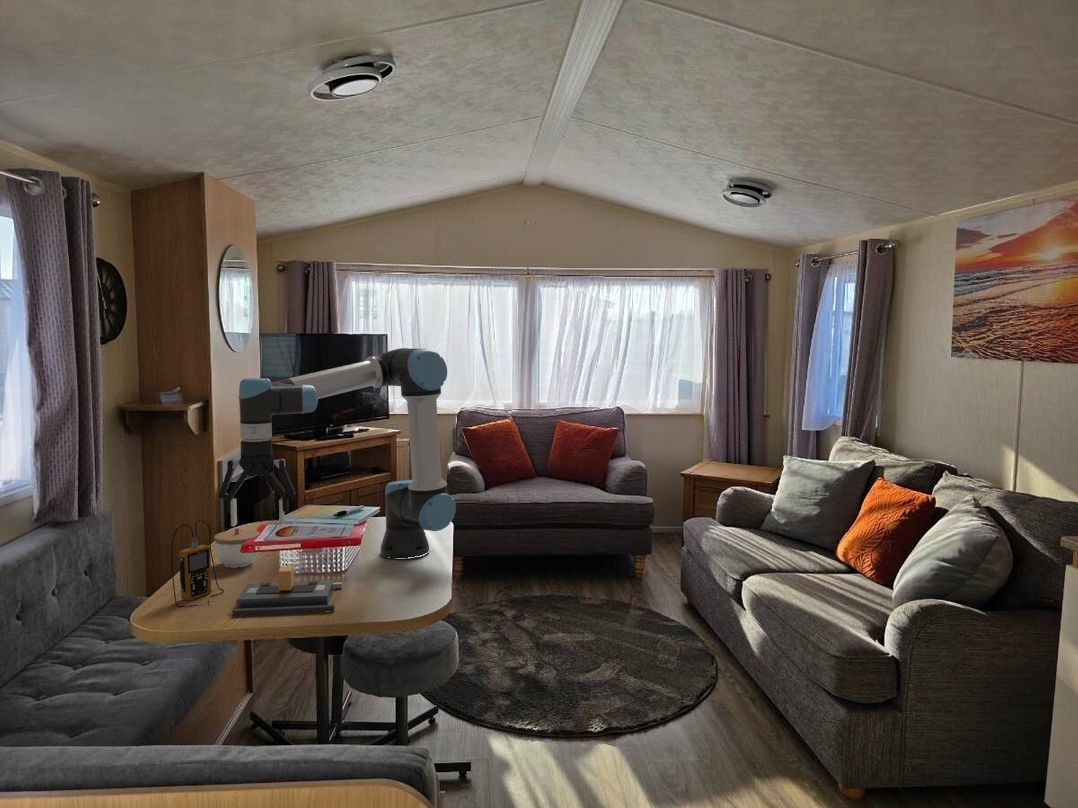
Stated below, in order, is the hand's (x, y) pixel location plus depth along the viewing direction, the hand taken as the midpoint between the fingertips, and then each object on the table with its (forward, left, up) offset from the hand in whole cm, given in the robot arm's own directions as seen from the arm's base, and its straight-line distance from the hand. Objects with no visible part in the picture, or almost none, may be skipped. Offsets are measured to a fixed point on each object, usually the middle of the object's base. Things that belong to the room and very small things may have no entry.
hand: (258, 524), depth 196 cm
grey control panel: (-7, 0, -20) cm, 21 cm away
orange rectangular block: (-7, 0, -17) cm, 18 cm away
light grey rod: (-8, -8, -20) cm, 23 cm away
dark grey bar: (-8, +9, -20) cm, 23 cm away
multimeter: (+14, -4, -21) cm, 25 cm away
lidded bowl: (+13, -34, -21) cm, 42 cm away
